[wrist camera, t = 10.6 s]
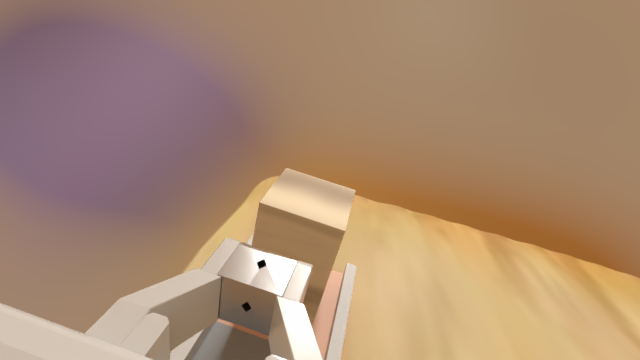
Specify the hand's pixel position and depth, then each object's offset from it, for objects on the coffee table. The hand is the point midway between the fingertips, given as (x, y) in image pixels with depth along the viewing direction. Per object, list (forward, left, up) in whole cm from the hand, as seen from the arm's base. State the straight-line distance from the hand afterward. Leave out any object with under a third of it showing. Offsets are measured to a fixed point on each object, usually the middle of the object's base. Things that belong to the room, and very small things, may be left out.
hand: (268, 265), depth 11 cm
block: (-10, -8, -16) cm, 20 cm away
